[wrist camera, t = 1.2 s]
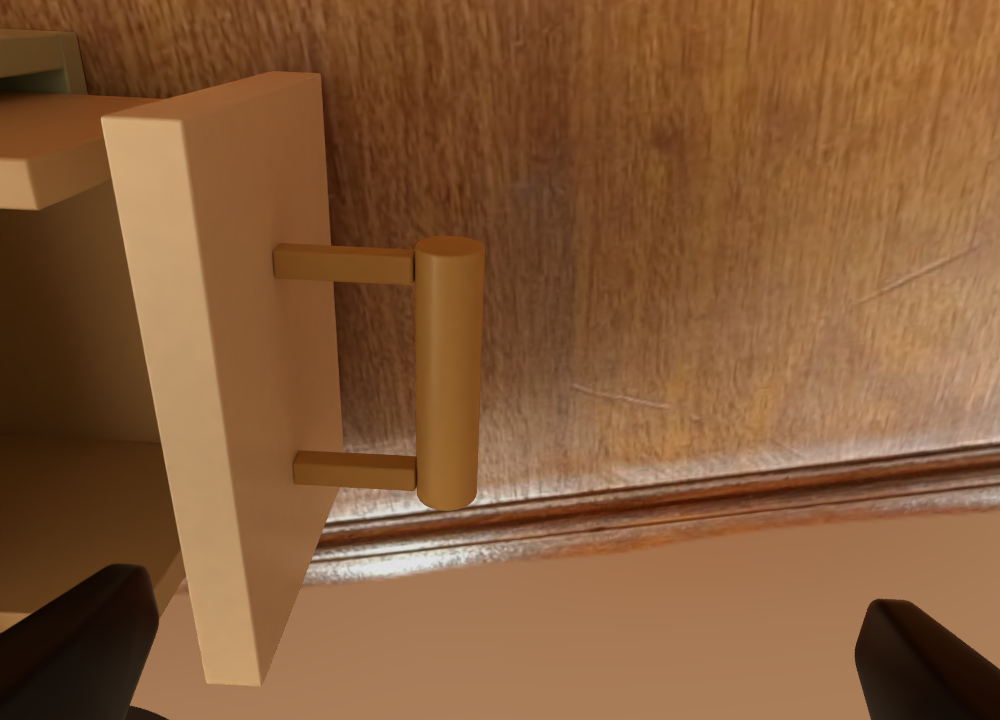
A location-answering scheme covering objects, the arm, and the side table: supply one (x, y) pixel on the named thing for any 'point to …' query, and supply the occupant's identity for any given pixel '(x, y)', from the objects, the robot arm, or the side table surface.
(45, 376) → the drawer
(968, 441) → the side table surface
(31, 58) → the cabinet
